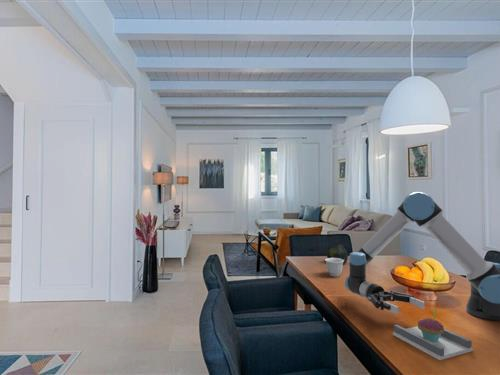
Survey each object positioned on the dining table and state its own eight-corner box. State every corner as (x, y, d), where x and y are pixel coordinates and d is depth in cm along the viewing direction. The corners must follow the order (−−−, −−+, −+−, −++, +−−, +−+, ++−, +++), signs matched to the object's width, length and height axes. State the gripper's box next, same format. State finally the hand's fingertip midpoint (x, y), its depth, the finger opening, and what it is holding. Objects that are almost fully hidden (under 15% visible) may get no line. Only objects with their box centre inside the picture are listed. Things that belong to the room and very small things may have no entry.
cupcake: (435, 333, 125) (434, 302, 125) (449, 344, 117) (449, 310, 116) (413, 334, 125) (412, 302, 125) (426, 345, 116) (425, 311, 116)
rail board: (393, 334, 127) (392, 325, 127) (423, 327, 133) (423, 318, 133) (439, 360, 108) (439, 349, 108) (472, 350, 114) (472, 340, 114)
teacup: (341, 271, 219) (341, 256, 219) (346, 278, 204) (345, 262, 204) (323, 271, 220) (323, 256, 220) (326, 277, 205) (326, 261, 205)
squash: (321, 254, 248) (329, 241, 239) (336, 253, 254) (345, 240, 245) (329, 270, 238) (339, 257, 229) (345, 268, 245) (355, 256, 236)
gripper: (393, 296, 153) (434, 312, 133) (349, 304, 144) (386, 322, 124) (393, 280, 153) (433, 294, 133) (349, 287, 143) (386, 303, 124)
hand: (411, 308), depth 128 cm, fingers open, 13 cm apart
